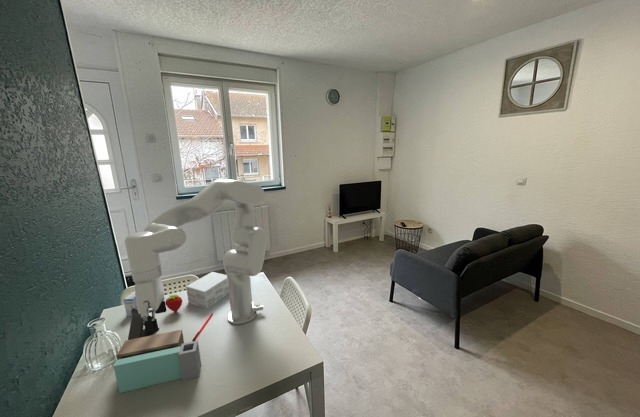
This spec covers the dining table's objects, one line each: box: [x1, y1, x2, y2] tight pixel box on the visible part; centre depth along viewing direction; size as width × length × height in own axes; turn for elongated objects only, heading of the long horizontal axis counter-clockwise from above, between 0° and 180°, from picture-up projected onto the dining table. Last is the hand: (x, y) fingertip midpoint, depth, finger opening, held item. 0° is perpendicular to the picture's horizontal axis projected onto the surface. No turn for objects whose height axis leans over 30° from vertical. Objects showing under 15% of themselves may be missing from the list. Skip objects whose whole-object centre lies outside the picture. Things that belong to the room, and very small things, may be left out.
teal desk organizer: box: [113, 339, 202, 394], centre depth 84 cm, size 23×5×10 cm, turn 107°
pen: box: [191, 313, 214, 342], centre depth 110 cm, size 1×19×1 cm, turn 178°
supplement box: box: [185, 271, 229, 309], centre depth 133 cm, size 17×13×9 cm
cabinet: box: [116, 329, 185, 361], centre depth 89 cm, size 23×13×9 cm, turn 107°
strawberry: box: [165, 293, 183, 313], centre depth 120 cm, size 6×8×10 cm
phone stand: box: [127, 307, 160, 340], centre depth 105 cm, size 9×6×12 cm, turn 158°
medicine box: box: [123, 290, 137, 317], centre depth 122 cm, size 8×4×9 cm, turn 5°
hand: (157, 321), depth 82 cm, fingers open, 9 cm apart
